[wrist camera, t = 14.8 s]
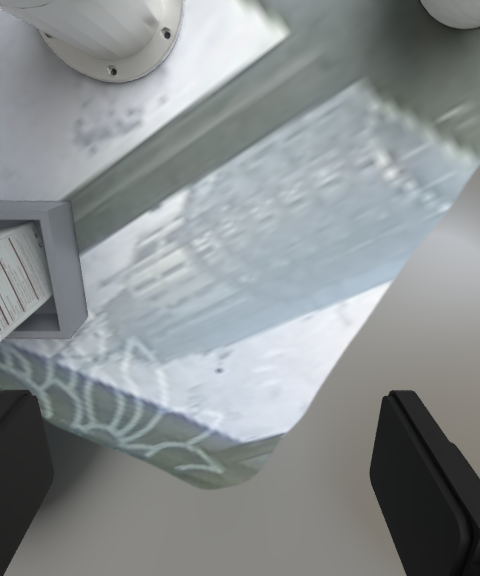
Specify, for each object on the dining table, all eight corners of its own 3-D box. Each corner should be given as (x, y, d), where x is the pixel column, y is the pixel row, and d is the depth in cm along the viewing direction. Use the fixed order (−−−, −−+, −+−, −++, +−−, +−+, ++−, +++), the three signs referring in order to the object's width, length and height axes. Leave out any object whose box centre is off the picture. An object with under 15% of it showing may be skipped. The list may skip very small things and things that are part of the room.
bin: (-59, 200, 38) (-100, 209, 33) (70, 201, 38) (47, 210, 33) (-27, 315, 42) (-59, 338, 38) (88, 316, 43) (70, 338, 38)
